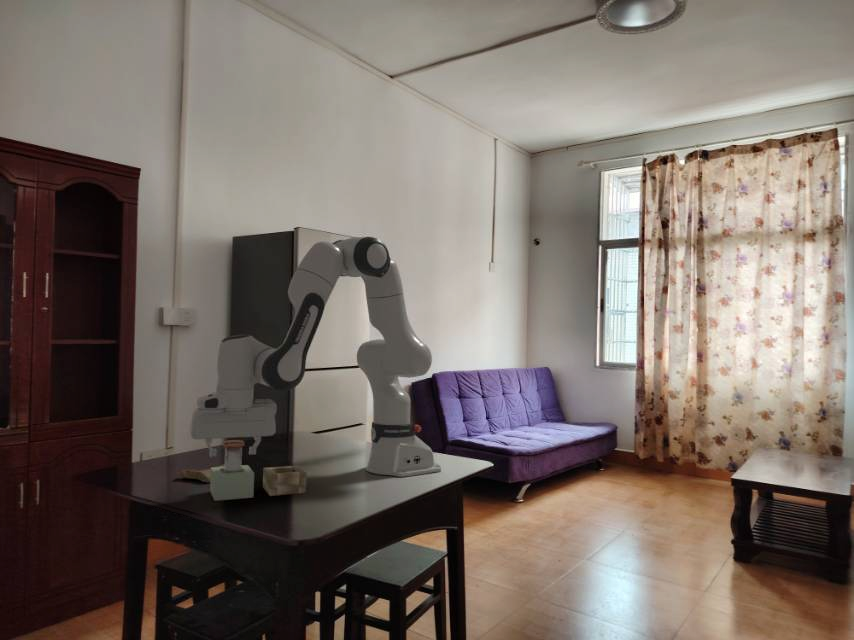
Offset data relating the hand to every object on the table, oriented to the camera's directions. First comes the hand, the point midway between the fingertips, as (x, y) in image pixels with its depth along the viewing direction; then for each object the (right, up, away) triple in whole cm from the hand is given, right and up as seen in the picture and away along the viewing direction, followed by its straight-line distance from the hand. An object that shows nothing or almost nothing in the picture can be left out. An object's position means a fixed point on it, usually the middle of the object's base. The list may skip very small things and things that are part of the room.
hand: (232, 455), depth 152 cm
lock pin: (0, -10, 0) cm, 10 cm away
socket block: (0, -10, 0) cm, 10 cm away
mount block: (+11, -10, +5) cm, 16 cm away
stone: (-11, -10, +17) cm, 23 cm away
